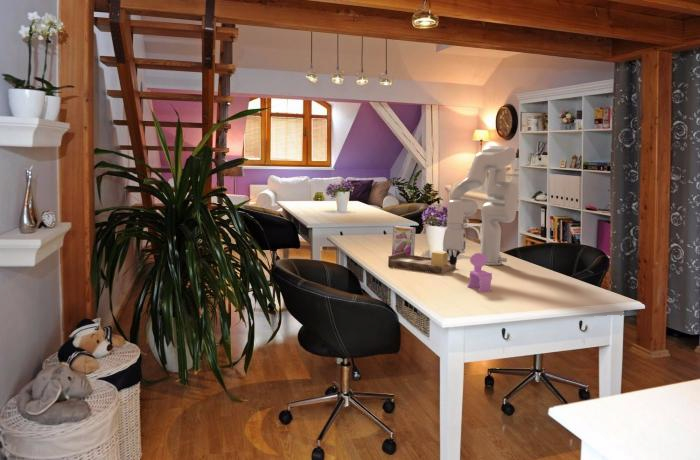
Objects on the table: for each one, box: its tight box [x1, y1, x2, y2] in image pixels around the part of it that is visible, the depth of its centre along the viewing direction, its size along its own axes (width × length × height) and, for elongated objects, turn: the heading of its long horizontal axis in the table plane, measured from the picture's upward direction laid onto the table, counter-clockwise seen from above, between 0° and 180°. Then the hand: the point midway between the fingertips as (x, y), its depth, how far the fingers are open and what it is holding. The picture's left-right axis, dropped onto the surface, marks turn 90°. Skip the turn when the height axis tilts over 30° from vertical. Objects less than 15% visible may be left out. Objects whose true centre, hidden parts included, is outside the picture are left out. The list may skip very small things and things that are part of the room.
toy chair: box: [467, 252, 493, 293], centre depth 252 cm, size 8×9×15 cm
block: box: [430, 250, 449, 266], centre depth 291 cm, size 6×6×6 cm
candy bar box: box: [391, 225, 416, 256], centre depth 320 cm, size 11×5×16 cm, turn 58°
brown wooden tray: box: [387, 251, 457, 275], centre depth 296 cm, size 28×18×5 cm, turn 58°
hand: (452, 264), depth 288 cm, fingers closed
